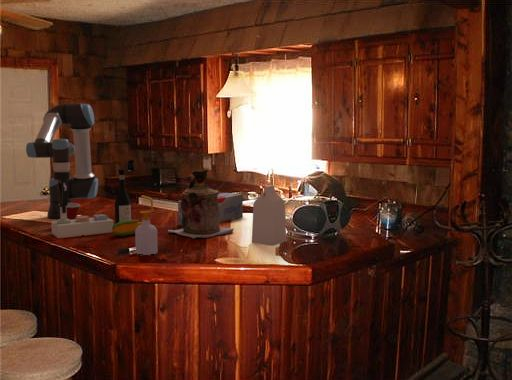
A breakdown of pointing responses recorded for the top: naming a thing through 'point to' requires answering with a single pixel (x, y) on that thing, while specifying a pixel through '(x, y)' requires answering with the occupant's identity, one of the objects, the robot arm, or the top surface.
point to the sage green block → (63, 221)
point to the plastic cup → (72, 210)
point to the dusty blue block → (100, 217)
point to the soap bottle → (146, 234)
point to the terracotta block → (82, 218)
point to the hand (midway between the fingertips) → (63, 219)
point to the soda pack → (224, 207)
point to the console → (82, 228)
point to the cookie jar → (200, 209)
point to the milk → (269, 218)
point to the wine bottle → (122, 201)
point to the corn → (125, 227)
